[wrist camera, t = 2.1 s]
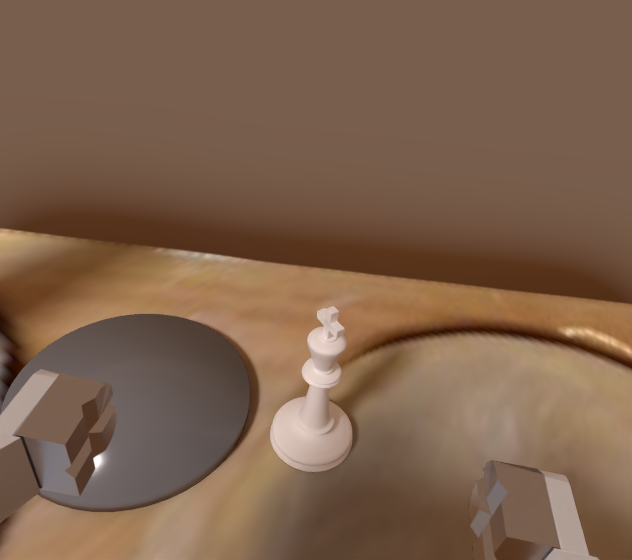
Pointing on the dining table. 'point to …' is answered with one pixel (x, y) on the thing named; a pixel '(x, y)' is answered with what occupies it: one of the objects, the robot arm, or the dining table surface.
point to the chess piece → (316, 406)
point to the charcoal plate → (152, 405)
